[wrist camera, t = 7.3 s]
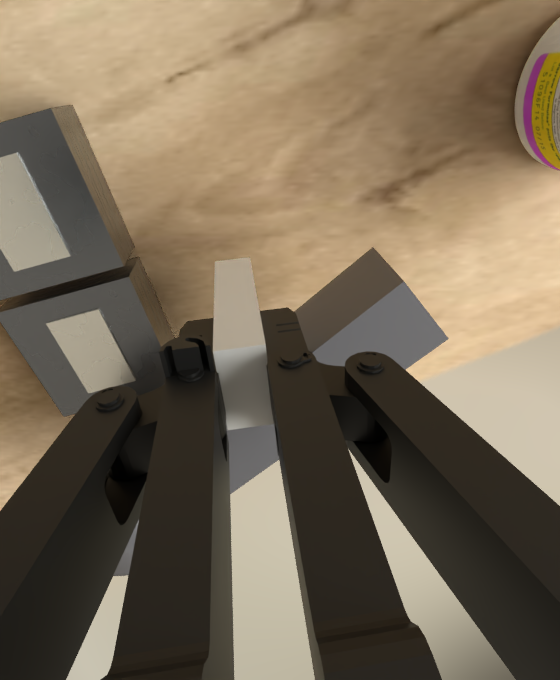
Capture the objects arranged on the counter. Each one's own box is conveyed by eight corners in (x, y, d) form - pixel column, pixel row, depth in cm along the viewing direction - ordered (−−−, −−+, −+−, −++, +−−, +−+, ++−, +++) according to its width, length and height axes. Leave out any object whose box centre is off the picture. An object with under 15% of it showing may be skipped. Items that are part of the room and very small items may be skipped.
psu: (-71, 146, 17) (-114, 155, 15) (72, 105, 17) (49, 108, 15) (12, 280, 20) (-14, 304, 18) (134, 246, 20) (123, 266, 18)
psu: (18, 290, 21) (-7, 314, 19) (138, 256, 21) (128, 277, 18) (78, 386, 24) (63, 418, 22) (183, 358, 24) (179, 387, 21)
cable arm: (362, 233, 16) (395, 270, 13) (418, 305, 18) (460, 352, 14) (69, 479, 20) (41, 550, 17) (137, 516, 22) (123, 587, 19)
